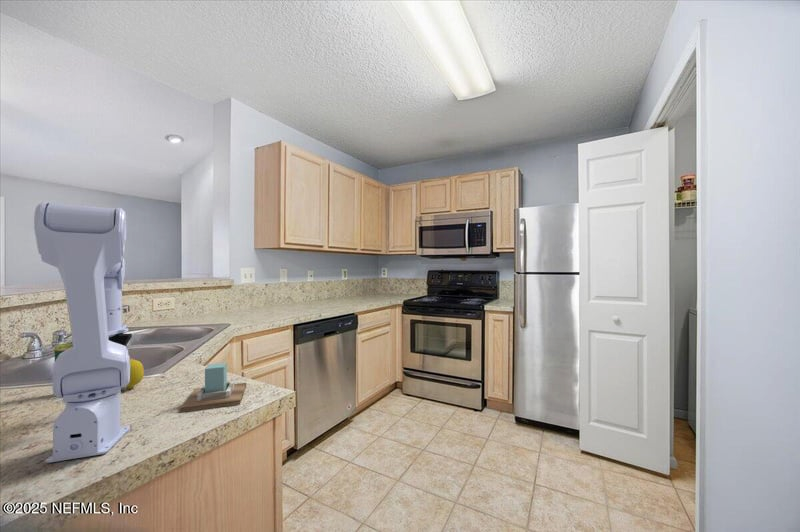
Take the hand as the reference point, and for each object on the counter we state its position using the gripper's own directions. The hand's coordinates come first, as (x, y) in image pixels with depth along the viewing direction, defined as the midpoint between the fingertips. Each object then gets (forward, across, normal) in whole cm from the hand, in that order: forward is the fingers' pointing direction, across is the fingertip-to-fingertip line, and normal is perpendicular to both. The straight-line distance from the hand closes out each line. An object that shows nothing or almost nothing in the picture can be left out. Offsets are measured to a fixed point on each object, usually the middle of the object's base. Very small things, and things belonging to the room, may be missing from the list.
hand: (104, 372), depth 69 cm
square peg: (+8, +2, -21) cm, 23 cm away
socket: (+9, +2, -21) cm, 23 cm away
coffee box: (+10, +19, +14) cm, 25 cm away
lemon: (+10, +17, +2) cm, 20 cm away
